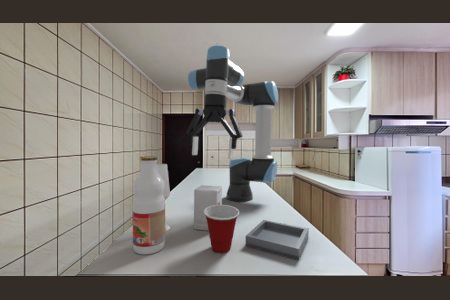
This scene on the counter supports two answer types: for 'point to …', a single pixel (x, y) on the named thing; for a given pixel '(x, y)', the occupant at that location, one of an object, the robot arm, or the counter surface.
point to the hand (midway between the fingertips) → (212, 156)
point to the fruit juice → (148, 209)
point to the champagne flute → (164, 175)
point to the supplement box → (205, 203)
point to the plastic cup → (221, 226)
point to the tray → (278, 239)
